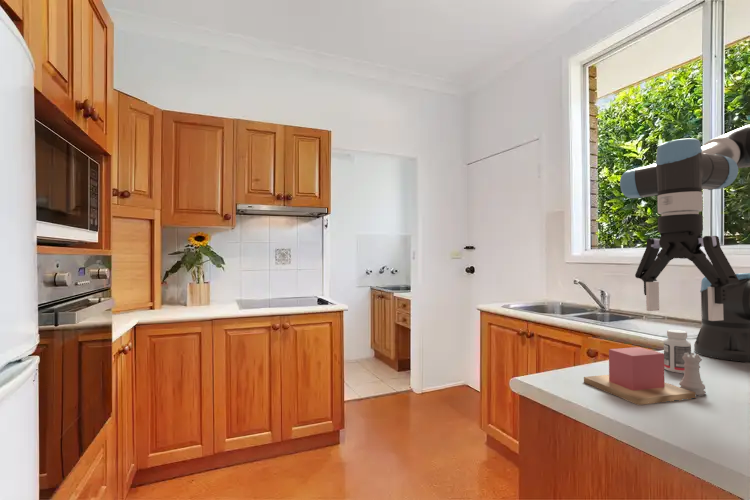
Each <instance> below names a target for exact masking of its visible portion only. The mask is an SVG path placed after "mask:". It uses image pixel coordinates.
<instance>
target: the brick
mask: <svg viewBox="0 0 750 500" xmlns="http://www.w3.org/2000/svg"><path fill="white" fill-rule="evenodd" d="M608 375H609V382H612V383H615V384H617V385H620V386H622V387H625V388H628V389H630V390H643V389H653V388H663V387H665V383H666V382H665V368H664V352H660V351H655V350H652V349H648V348H644V347H639V346H637V347H636V346H634V347H624V348H623V347H622V348H619V347H618V348H609V349H608Z"/></svg>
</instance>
